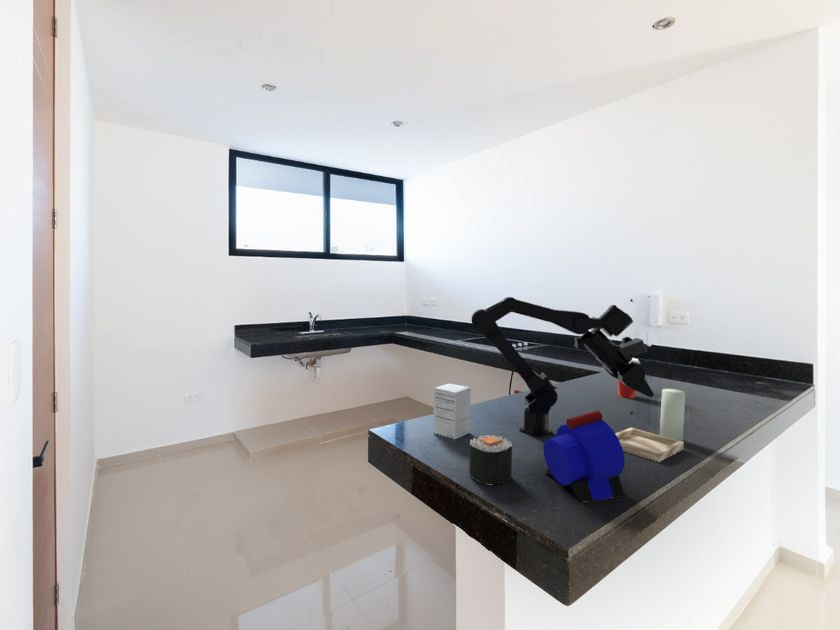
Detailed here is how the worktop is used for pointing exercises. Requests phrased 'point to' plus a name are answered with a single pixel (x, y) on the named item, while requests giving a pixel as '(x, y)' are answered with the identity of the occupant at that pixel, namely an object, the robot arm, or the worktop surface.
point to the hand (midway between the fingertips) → (645, 391)
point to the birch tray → (648, 444)
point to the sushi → (490, 459)
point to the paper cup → (623, 389)
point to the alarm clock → (586, 457)
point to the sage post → (672, 414)
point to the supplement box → (452, 410)
